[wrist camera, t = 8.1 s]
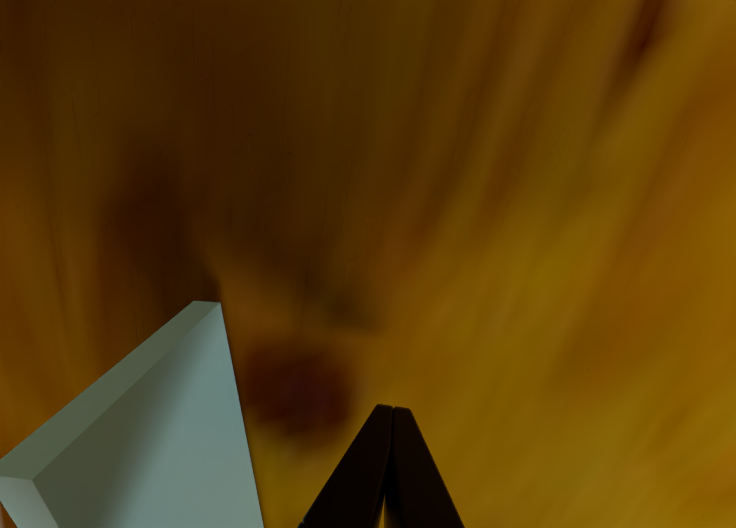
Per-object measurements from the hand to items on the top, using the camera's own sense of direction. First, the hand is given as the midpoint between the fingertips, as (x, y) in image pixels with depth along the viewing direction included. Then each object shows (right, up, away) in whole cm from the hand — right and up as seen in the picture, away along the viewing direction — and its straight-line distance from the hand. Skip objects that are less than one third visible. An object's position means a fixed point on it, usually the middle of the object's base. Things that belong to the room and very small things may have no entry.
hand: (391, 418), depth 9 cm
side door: (-6, -5, +4) cm, 8 cm away
